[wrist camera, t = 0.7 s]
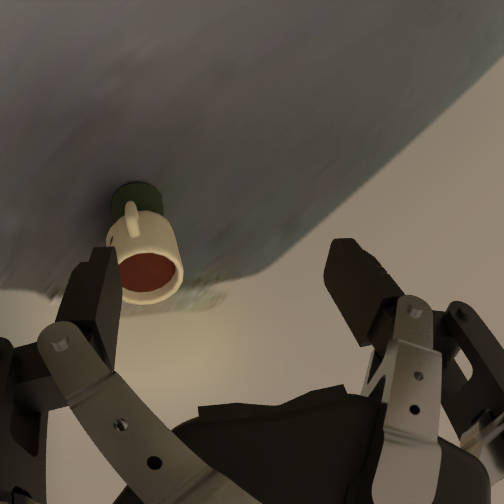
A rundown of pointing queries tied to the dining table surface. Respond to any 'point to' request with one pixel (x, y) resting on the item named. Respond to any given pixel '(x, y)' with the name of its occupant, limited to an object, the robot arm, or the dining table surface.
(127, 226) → the trophy cup
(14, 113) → the dining table surface
